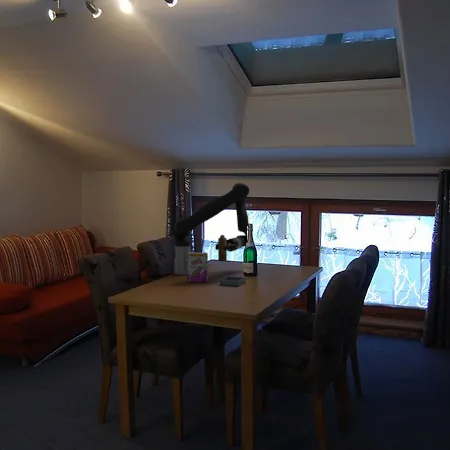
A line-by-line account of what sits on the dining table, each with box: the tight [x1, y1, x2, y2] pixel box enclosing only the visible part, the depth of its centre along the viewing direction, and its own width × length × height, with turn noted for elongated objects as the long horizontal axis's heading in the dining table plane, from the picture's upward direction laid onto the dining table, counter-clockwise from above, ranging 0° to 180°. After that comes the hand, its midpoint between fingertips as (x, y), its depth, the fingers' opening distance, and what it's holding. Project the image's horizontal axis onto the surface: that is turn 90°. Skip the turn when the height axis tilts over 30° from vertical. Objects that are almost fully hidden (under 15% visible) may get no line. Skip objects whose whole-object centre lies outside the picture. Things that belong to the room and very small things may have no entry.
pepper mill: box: [217, 234, 228, 263], centre depth 296 cm, size 5×5×15 cm
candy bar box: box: [187, 251, 209, 283], centre depth 293 cm, size 11×5×16 cm, turn 84°
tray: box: [219, 275, 247, 287], centre depth 286 cm, size 11×10×3 cm
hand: (220, 248), depth 294 cm, fingers closed on pepper mill, 4 cm apart
